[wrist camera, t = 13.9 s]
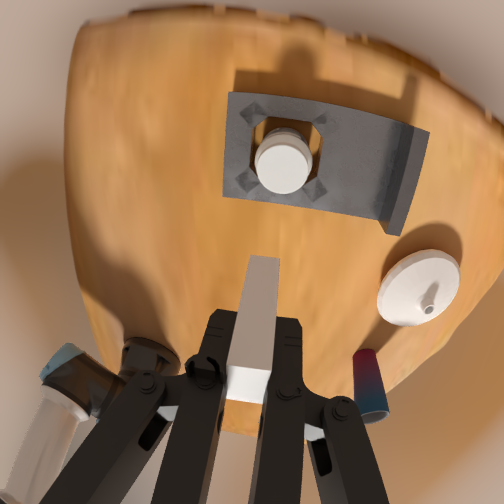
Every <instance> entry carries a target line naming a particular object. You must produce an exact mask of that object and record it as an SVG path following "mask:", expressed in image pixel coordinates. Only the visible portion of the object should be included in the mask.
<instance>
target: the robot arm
mask: <svg viewBox="0 0 504 504" xmlns="http://www.w3.org/2000/svg"><path fill="white" fill-rule="evenodd" d="M279 267H280V258H272V257H264V256H256V255H250V259H249V264H248V268H247V273H246V277H245V282H244V286H243V291H242V295H241V300H240V305H239V309H238V312H235V311H228V310H222V309H217V310H216V311H215V312H214V313H213V314H212V315H211V316H210V318H209V321H208V324H207V328H206V330H205V334H204V337H203V340H202V343H201V346H200V350H199V353H198V354H196V355H193V356H192V357H190V358H189V359H188V360H187V362H186V363H185V370H186V373H184V374H182V375H178V373H179V370H180V367H181V365H180V362H179V360H178V358H177V357H176V356H175V355H174V354H173V353H172V352H171V351H170V350H168V349H167V348H165V347H164V346H162V345H160V344H158V343H156V342H154V341H151V340H148V339H144V338H137V337H136V338H130V339H128V340H127V341H126V343H125V345H124V347H123V350H122V358H121V367H120V371H119V373H118V376H117V375H116V374H114V373H113V372H111V371H110V370H108V369H107V368H106V367H104V366H103V365H101V364H100V363H99V362H97V361H96V360H95V359H93V358H92V357H91V356H89V355H88V354H87V353H86V352H85V351H82V350H81V349H80V348H78V347H77V346H75V345H74V344H72V343H66V344H64V345H63V346H62V347H61V348H60V349H59V350H58V351H57V352H56V353H55V354H54V356H53V357H52V358H51V359H50V360H49V362H48V363H47V365H46V366H45V367H44V368H43V370H42V371H41V373H40V376H39V377H40V379H41V380H42V381H43V384H42V385H41V392H42V396H43V399H42V401H41V403H40V405H39V407H38V409H37V411H36V413H35V416H34V418H33V420H32V422H31V424H30V426H29V429H28V431H27V433H26V435H25V438H24V440H23V442H22V445H21V447H20V449H19V452H18V455H17V457H16V460H15V462H14V465H13V467H12V471H11V473H10V476H9V479H8V482H7V485H6V488H5V489H2V490H0V504H120V503H121V501H122V500H123V498H124V497H125V495H126V494H127V492H128V491H129V489H130V488H131V486H132V485H133V483H134V482H135V480H136V479H137V477H138V476H139V474H140V473H141V471H142V470H143V468H144V466H145V465H146V463H147V462H148V460H149V458H150V457H151V456H152V454H153V452H154V451H155V449H156V448H157V446H158V445H159V443H160V441H161V440H162V438H163V437H164V435H165V434H166V432H167V430H168V429H169V427H170V426H171V424H172V422H173V421H174V422H173V425H172V429H171V433H170V436H169V440H168V443H167V446H166V450H165V453H164V457H163V460H162V464H161V467H160V471H159V475H158V478H157V482H156V486H155V489H154V493H153V497H152V501H151V504H206V500H207V496H208V491H209V486H210V481H211V476H212V471H213V466H214V461H215V456H216V451H217V446H218V441H219V436H220V431H221V426H222V421H223V416H224V406H225V401H226V399H232V400H238V401H245V402H253V403H261V404H263V405H262V413H261V416H260V419H259V431H258V440H257V447H256V454H255V461H254V468H253V475H252V482H251V488H250V495H249V501H248V504H300V497H301V484H302V470H303V469H302V468H303V453H304V439H306V440H307V445H308V448H309V453H310V457H311V461H312V466H313V470H314V474H315V478H316V483H317V487H318V491H319V496H320V500H321V504H389V501H388V497H387V494H386V490H385V487H384V484H383V481H382V477H381V474H380V471H379V468H378V464H377V461H376V458H375V455H374V452H373V449H372V446H371V443H370V440H369V437H368V434H367V432H366V428H365V425H364V422H363V420H362V417H361V414H360V411H359V408H358V406H357V405H356V403H355V402H354V401H353V400H352V399H350V398H348V397H345V396H336V397H333V398H331V399H328V398H325V397H322V396H320V395H317V394H315V393H313V392H311V391H310V390H309V389H308V388H307V387H306V386H305V384H304V382H303V377H302V327H301V325H300V323H299V321H298V319H295V318H286V317H277V316H276V311H277V297H278V282H279ZM90 414H91V415H93V416H94V417H96V418H97V420H96V425H95V427H94V428H93V429H92V431H91V432H90V433H89V435H88V436H87V437H86V439H85V440H84V442H83V443H82V444H81V446H80V447H79V448H78V450H77V451H76V452H75V454H74V455H73V456H72V458H71V459H70V461H69V462H68V463H67V465H66V466H65V467H64V469H63V470H62V472H61V473H60V470H61V467H62V464H63V462H64V459H65V456H66V454H67V451H68V448H69V446H70V443H71V440H72V438H73V435H74V433H75V431H76V428H77V426H78V423H79V422H82V421H86V420H88V419H89V417H90ZM59 473H60V474H59Z"/></svg>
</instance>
